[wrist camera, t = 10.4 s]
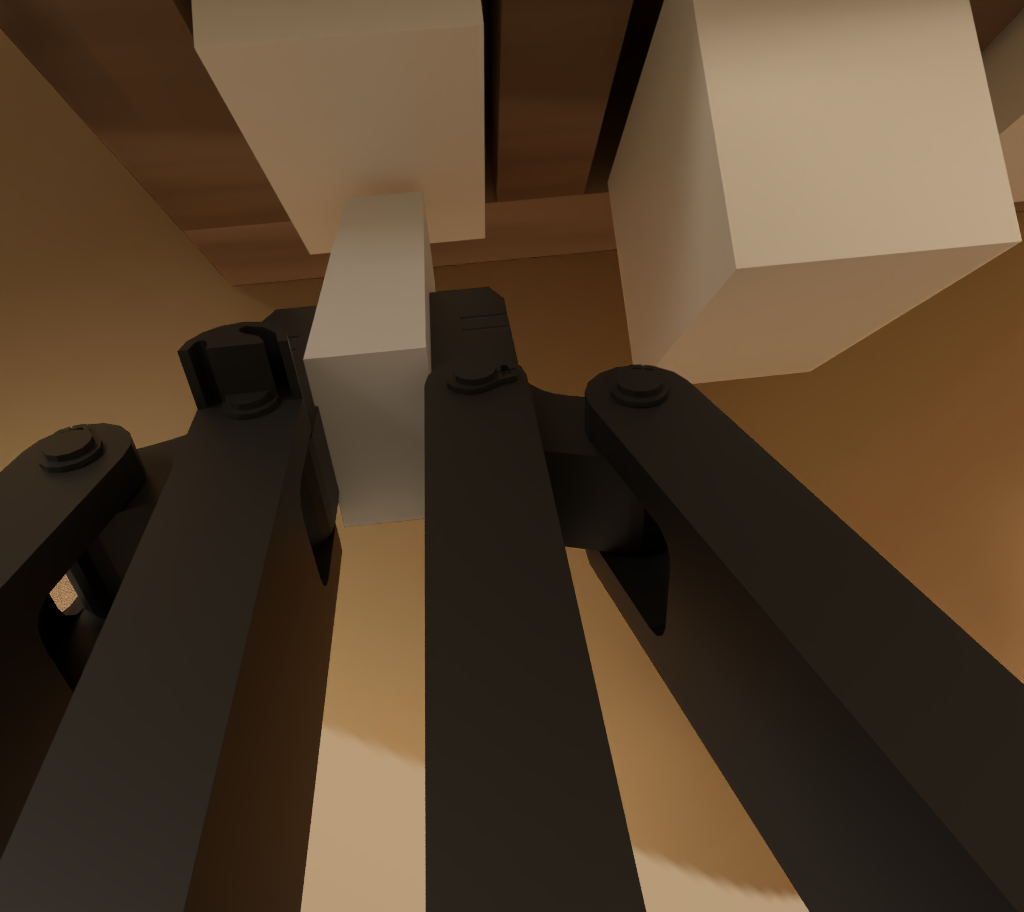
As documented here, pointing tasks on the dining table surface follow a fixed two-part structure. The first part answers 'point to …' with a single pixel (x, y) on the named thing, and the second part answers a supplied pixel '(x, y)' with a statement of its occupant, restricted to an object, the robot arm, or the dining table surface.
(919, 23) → the middle button
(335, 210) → the left button
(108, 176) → the dining table surface
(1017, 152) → the right button
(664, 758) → the dining table surface
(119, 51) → the console
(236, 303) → the dining table surface
